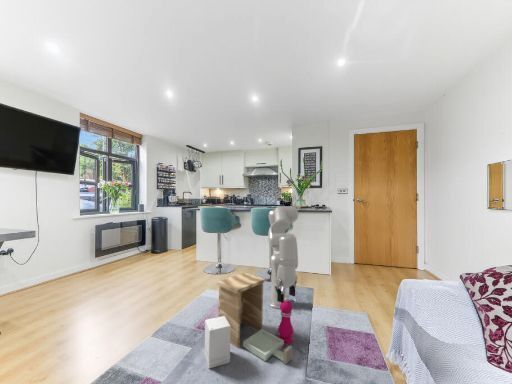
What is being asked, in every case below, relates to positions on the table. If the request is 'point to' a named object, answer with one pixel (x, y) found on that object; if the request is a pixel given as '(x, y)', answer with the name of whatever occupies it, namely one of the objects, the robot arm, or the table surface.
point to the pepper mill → (286, 322)
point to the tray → (267, 346)
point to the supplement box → (217, 341)
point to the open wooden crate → (241, 303)
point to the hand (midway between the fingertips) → (286, 298)
